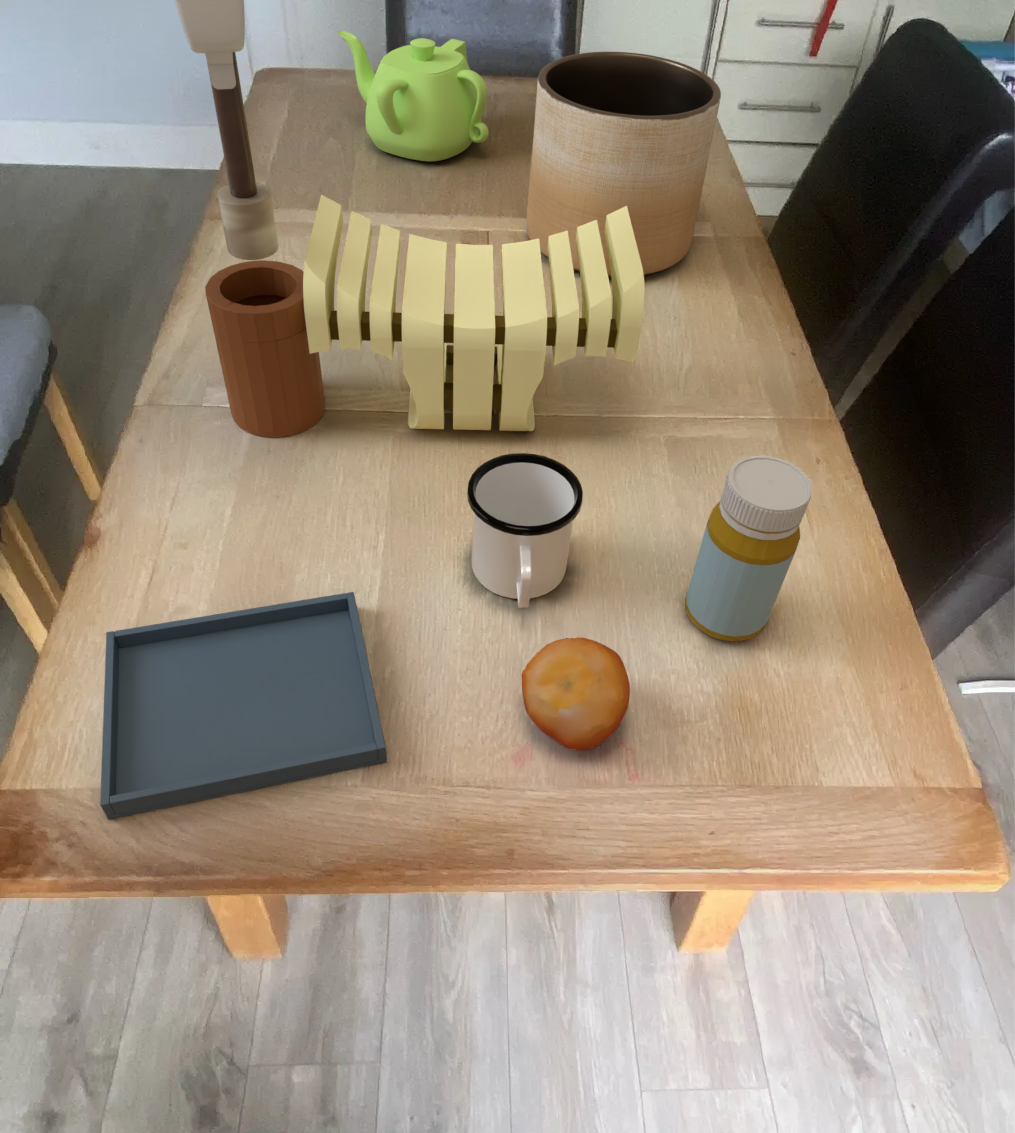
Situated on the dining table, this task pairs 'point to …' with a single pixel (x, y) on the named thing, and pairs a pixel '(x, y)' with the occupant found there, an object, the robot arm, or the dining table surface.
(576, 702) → the fruit
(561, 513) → the mug
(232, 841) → the dining table surface
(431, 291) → the slatted curved stool
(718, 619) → the bottle
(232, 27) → the robot arm
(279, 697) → the tray
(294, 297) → the terracotta utensil crock
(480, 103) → the teapot
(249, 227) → the bottle brush
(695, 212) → the planter
